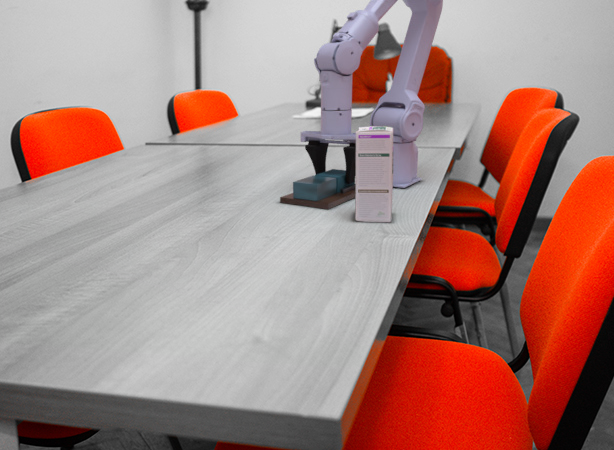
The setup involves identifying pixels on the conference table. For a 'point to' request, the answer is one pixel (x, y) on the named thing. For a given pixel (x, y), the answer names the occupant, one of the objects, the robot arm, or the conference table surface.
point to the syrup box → (374, 174)
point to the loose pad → (337, 178)
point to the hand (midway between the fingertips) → (335, 181)
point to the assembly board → (320, 203)
